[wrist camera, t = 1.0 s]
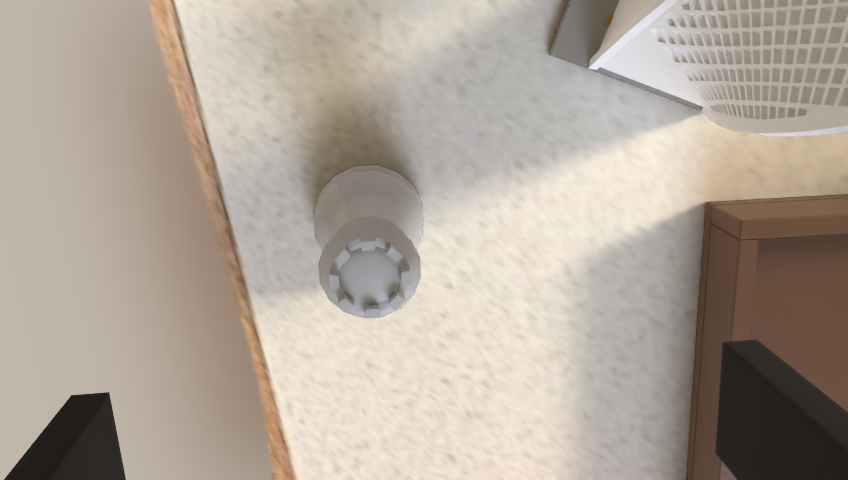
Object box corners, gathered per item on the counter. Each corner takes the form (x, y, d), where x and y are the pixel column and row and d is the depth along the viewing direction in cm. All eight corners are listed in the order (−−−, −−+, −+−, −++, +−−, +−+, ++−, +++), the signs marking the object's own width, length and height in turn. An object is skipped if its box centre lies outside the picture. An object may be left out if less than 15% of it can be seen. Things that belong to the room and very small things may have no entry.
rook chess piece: (291, 205, 30) (266, 266, 22) (380, 140, 29) (385, 180, 22) (358, 288, 31) (356, 373, 23) (444, 226, 31) (470, 293, 23)
